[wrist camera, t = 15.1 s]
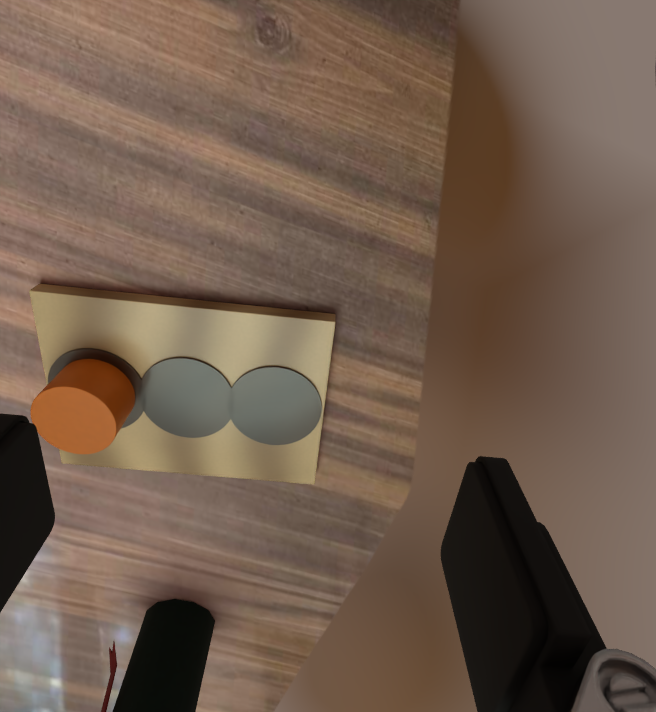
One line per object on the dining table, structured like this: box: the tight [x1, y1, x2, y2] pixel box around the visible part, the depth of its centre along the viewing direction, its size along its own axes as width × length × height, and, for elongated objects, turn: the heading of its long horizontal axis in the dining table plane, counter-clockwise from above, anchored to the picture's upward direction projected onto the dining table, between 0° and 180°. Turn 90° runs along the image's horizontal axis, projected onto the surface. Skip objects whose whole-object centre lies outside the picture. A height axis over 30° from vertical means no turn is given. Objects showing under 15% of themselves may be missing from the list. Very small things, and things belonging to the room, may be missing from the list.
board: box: [29, 284, 336, 484], centre depth 40 cm, size 22×16×2 cm
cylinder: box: [31, 359, 135, 454], centre depth 37 cm, size 6×6×4 cm
